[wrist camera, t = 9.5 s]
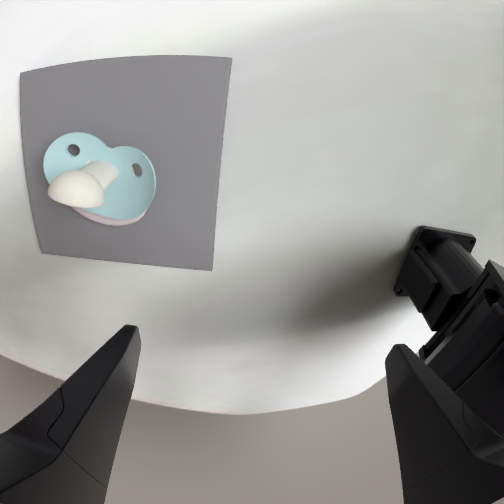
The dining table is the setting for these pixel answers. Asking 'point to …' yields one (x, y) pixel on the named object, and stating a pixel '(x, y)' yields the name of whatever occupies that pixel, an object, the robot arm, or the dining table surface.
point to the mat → (138, 136)
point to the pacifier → (99, 179)
